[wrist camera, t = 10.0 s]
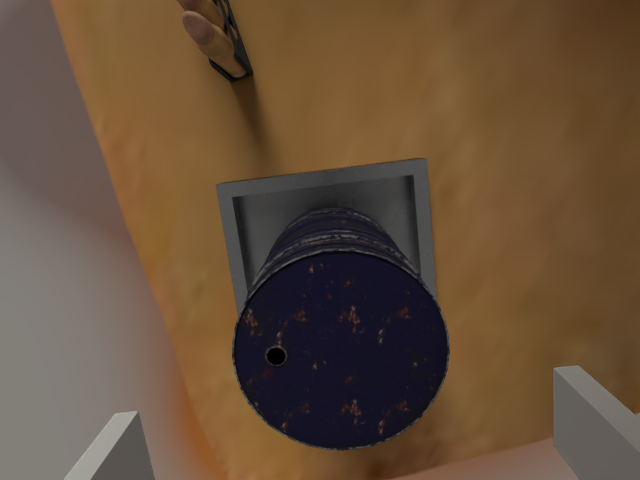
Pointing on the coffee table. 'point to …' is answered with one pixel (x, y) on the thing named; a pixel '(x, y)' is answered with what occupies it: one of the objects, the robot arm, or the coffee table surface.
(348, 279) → the storage jar
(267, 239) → the cradle tray
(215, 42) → the ammunition clip
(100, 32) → the coffee table surface
